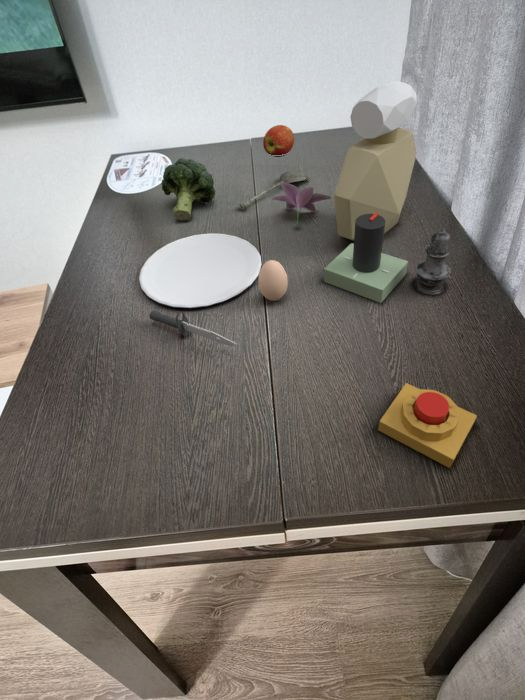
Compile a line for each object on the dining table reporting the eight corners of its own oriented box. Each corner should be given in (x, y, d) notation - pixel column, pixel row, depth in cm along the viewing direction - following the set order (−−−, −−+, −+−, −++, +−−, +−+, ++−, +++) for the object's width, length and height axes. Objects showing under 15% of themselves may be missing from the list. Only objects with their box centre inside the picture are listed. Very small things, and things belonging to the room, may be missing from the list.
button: (451, 408, 57) (454, 400, 56) (438, 430, 55) (441, 422, 54) (421, 395, 59) (424, 387, 58) (408, 415, 57) (410, 407, 56)
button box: (473, 424, 59) (481, 407, 56) (449, 468, 55) (457, 452, 52) (403, 392, 64) (408, 374, 61) (377, 430, 60) (380, 413, 57)
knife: (244, 350, 72) (239, 327, 68) (236, 359, 70) (230, 337, 67) (160, 320, 81) (152, 298, 77) (151, 327, 79) (142, 306, 76)
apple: (260, 157, 125) (257, 128, 119) (278, 147, 129) (276, 118, 124) (282, 163, 121) (280, 133, 116) (300, 152, 125) (299, 122, 120)
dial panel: (406, 274, 83) (408, 260, 81) (381, 303, 78) (382, 289, 76) (350, 255, 89) (351, 242, 86) (323, 281, 84) (323, 268, 81)
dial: (372, 275, 79) (377, 230, 72) (347, 267, 81) (350, 222, 74) (384, 261, 81) (390, 216, 74) (360, 254, 83) (364, 209, 77)
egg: (254, 300, 81) (249, 263, 76) (273, 286, 84) (269, 249, 78) (276, 311, 79) (272, 274, 73) (294, 296, 81) (292, 259, 75)
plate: (285, 254, 91) (285, 249, 90) (211, 328, 77) (210, 322, 76) (193, 227, 102) (192, 222, 101) (114, 287, 88) (112, 282, 87)
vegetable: (146, 214, 104) (159, 161, 108) (192, 237, 111) (203, 188, 115) (170, 193, 94) (184, 137, 98) (218, 221, 102) (229, 167, 106)
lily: (337, 225, 99) (336, 180, 96) (305, 228, 91) (304, 178, 88) (295, 227, 107) (293, 185, 104) (262, 230, 98) (260, 184, 96)
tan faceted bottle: (424, 214, 97) (453, 69, 77) (362, 266, 86) (376, 112, 66) (377, 199, 103) (392, 61, 83) (313, 246, 92) (313, 100, 72)
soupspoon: (313, 182, 113) (294, 177, 117) (312, 169, 111) (294, 164, 115) (250, 214, 103) (232, 207, 107) (248, 200, 101) (230, 193, 105)
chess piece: (450, 294, 78) (467, 235, 69) (417, 297, 78) (429, 238, 70) (441, 274, 82) (455, 216, 73) (409, 277, 82) (420, 219, 74)
